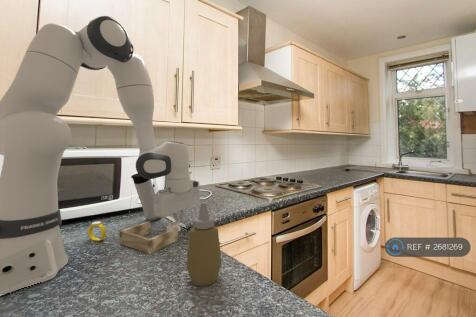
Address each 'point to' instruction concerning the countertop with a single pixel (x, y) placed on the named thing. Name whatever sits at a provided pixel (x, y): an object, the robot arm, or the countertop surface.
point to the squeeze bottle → (203, 249)
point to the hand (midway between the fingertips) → (179, 222)
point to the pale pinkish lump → (173, 226)
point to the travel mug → (145, 195)
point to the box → (148, 245)
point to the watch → (100, 228)
